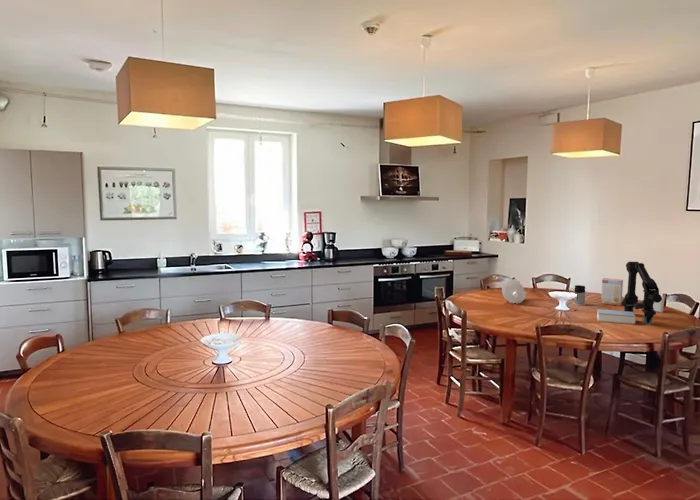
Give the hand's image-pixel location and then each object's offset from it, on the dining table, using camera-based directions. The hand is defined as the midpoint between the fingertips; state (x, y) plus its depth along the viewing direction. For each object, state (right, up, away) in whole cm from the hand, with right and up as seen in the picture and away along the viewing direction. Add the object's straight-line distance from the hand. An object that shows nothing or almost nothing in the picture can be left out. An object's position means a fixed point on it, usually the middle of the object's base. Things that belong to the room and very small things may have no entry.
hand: (647, 321), depth 314 cm
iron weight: (0, -1, 0) cm, 1 cm away
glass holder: (-20, +5, +58) cm, 62 cm away
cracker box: (+8, +5, +57) cm, 58 cm away
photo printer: (+29, +2, +35) cm, 46 cm away
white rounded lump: (-67, +6, +70) cm, 97 cm away
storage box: (-17, -1, +8) cm, 19 cm away
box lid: (-17, +5, +7) cm, 19 cm away
